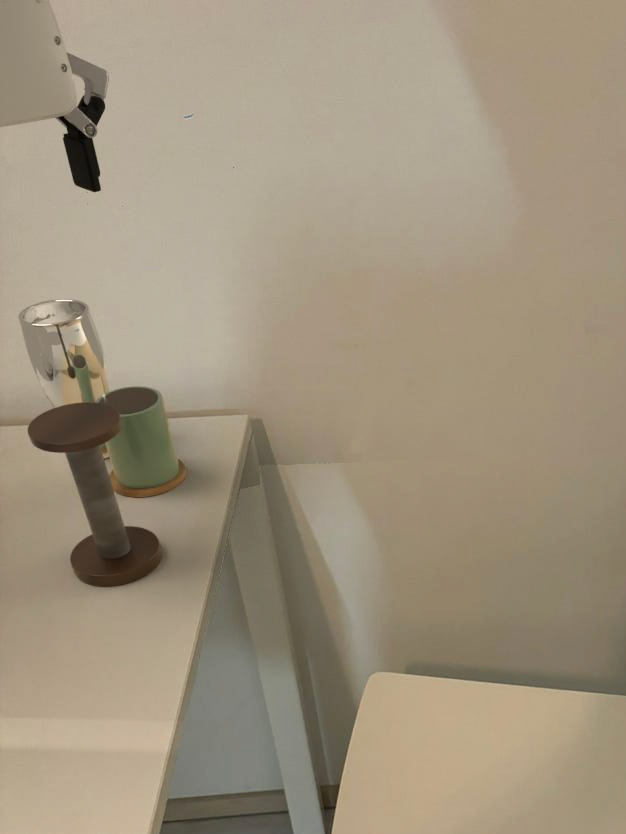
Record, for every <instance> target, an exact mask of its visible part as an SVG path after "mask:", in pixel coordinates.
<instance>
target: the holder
mask: <svg viewBox="0 0 626 834" xmlns="http://www.w3.org/2000/svg"><path fill="white" fill-rule="evenodd" d="M121 427H122V422H121V418H120V415H119V413H118V411H117V410H116V409H115V408H113V407H111V406H109V405H106V404H102V403H94V402H82V403H73V404H68V405H63V406H59V407H56V408H53V407H52V408H51V409H48V410H46V411H44V412H42V413H40V414H39V415H37V416H36V417H35V418H33V419H32V420H31V422H30V423H29V424H28V427H27V435H28V437H29V440H30V442H31V444H32V445H33V446H34V447H35V448H37V449H39V450H41V451H44V452H48V453H58V454H59V453H60V454H63V453H64V454H65V457H66V460H67V463H68V466H69V468H70V471H71V475H72V476H73V481H74V484H75V487H76V490H77V493H78V495H79V498H80V501H81V504H82V505H81V506H82V507H83V510H84V511H83V512H84V513H85V516H86V520H87V523H88V525H89V529H90V531H91V534H90V535H89V536H86V537H84V538H83V539H82V540H80V541H79V542H78V543H77V544H76V545H75V546H74V547H73V549H72V551H71V553H70V557H69V561H70V565H71V567H72V570H73V573H74V575H75V576H76V578H77V579H78V580H79V581H80V582H81V581H82V582H83V583H85V584H88V585H90V586H96V587H116V586H123V585H126V584H130V583H132V582H135V581H137V580H140V579H142V578H145V577H146V576H147V575H148V574H150V573H151V572H153V571H154V570H155V569H156V568H157V566H158V565H159V564H160V563H161V560H162V557H163V550H162V547H161V543H160V540H159V538H158V536H157V535H156V534H155V533H154V532H153V531H151V530H149V529H147V528H144V527H140V526H134V525H133V526H131V525H125V523H124V519H123V516H122V513H121V509H120V508H119V503H118V499H117V496H116V494H115V493H116V492H115V491H114V490H113V487H112V483H111V480H110V477H109V475H110V473H109V470H108V468H107V464H106V462H105V461H106V460H105V459H104V457H103V454H102V451H101V448H100V445H101V444H104V443H106V442H107V441H109V440H111V439H112V438H114V437H115V436H116V435H117V434H118V433H119V431H120V430H121Z"/></svg>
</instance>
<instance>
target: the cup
mask: <svg viewBox="0 0 626 834" xmlns="http://www.w3.org/2000/svg"><path fill="white" fill-rule="evenodd" d="M95 403H102V404H106V405H109V406H111V407H113V408H115V409H116V410H117V411H118V413H119V415H120V418H121V422H122V427H121V430H120V431H119V433H118V434H117V435H116V436H115V437H114V438H112V439H111V440H109V441H107V442H106V443H105V444H106V447H107V451H108V454H109V457H108V458H109V462H110V464H111V467H112V470H113V471H114V474H115V477H116V480H117V482H118V483H119V484H121V485H123V486H125V487H128V488H135V489H144V488H151V487H156V486H159V485H162V484H164V483H167V482H169V481H170V480H172V479H173V478H174V477H175V476H176V475H177V474H178V473H179V470H180V466H179V462H178V459H179V458H178V454H177V450H176V446H175V442H174V438H173V434H172V430H171V425H170V422H169V418H168V417H169V416H168V414H167V410H166V405H165V401H164V397H163V394H162V393H161V392H160V391H159V390H158V389H155V388H153V387H149V386H143V385H142V386H141V385H139V386H138V385H137V386H136V385H135V386H125V387H119V388H116V389H113V390H109V392H108V393H106V394H104V395H102V396H101V397H99V398H98V399H97V400H96V402H95Z"/></svg>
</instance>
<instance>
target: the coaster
mask: <svg viewBox="0 0 626 834" xmlns="http://www.w3.org/2000/svg"><path fill="white" fill-rule="evenodd" d="M178 462H179V466H180V470H179V473H178V474H177V475H176V476H175V477H174V478H173V479H172V480H170V481H169V482H167V483H164V484H162V485H159V486H156V487H151V488H144V489H135V488H128V487H125V486H123V485H121V484H119V483H118V482H117V480H116V477H115V474H114V471H113V469H112V470H111V472H110V473H109V477H110V480H111V483H112V487H113V490H114V493H116V494H119V495H121V496H124V497H129V498H130V497H131V498H147V497H148V498H149V497H153V496H158V495H161V494H165V493H166V492H169V491H172V490H173V489H175V488H176V487H178V486H179V485H180V484H181V483H183V481H184V480H185V478H186V476H187V469H186V465H185V463H184V462H183V460H181V459H180V458H178Z"/></svg>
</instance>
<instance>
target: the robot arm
mask: <svg viewBox="0 0 626 834" xmlns="http://www.w3.org/2000/svg"><path fill="white" fill-rule="evenodd" d="M74 76H75V77H78V78H80V79H82V81H83V83H84V90H83V91H84V93H83V94H84V95H82V96H81V98H80V101H79V102H78V97H77V90H76V85H75V80H74ZM109 81H110V76H109V72H108V71H107V70H106V69H105V68H102V67H99V66H97V65H95V64H93V63H91V62H90V61H87V60H84V59H82V58H80V57H78V56H76V55H74V54H72V53H69V52H67V50H66V47H65V43H64V40H63V37H62V33H61V30H60V27H59V25H58V21H57V19H56V15H55V13H54V11H53V8H52V4H51V1H50V0H0V128H3V127H11V126H16V125H17V126H18V125H21V124H22V125H23V124H27V123H28V124H29V123H35V122H40V121H46V120H50V119H56V120H57V121H58V122H59V123H60V124H61V125H62V126H63V127H64V128H65V129H66V132H67V133H63V134H62V135H63V137H62V141H63V145H64V149H65V153H66V158H67V161H68V165H69V168H70V169H69V170H70V173H71V178H72V181H73V184H74V185H75V186H77V187H78V188H81V189H83V190H86V191H90V192H92V193H97V192H101V191H102V187H101V182H100V177H101V170H100V166H99V161H98V156H97V152H96V147H95V144H94V140H93V139H94V138H95V137H96V136H97V134H98V128H97V126H98V124H99V122H100V120H101V119H102V116H103V114H104V112H105V110H106V102H105V99H106V97H107V92H108V86H109ZM77 103H78V104H77Z"/></svg>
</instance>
